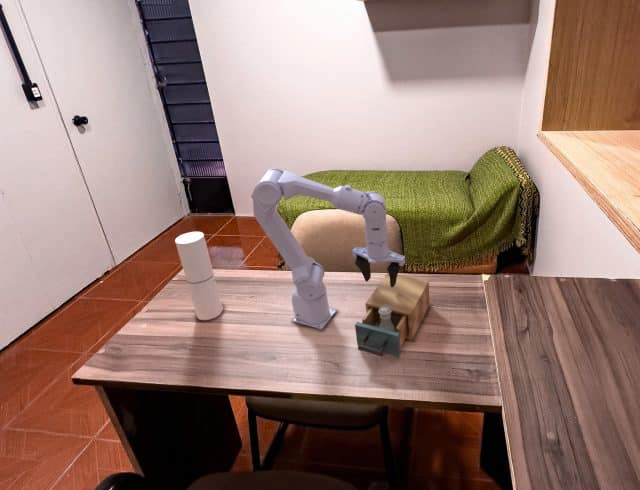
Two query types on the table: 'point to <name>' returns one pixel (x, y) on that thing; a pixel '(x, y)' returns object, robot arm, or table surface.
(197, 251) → the cylindrical container
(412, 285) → the cabinet
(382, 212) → the robot arm
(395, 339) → the drawer
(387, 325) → the chess piece
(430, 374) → the table surface
